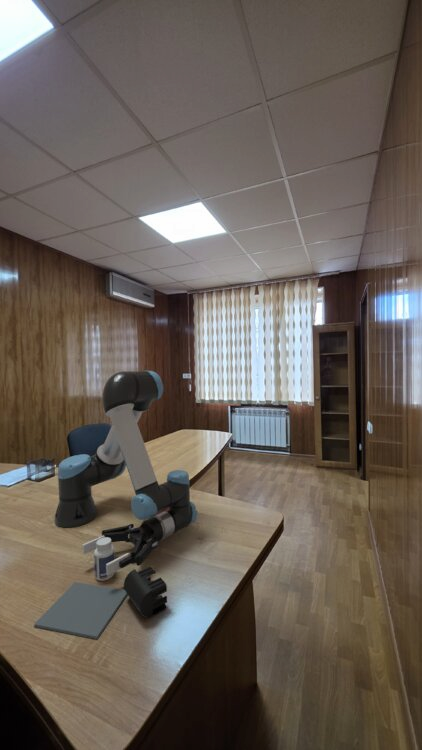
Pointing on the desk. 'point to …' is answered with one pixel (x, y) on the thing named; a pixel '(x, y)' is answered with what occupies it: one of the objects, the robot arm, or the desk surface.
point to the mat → (83, 610)
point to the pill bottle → (103, 558)
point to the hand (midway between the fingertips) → (94, 559)
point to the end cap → (146, 592)
